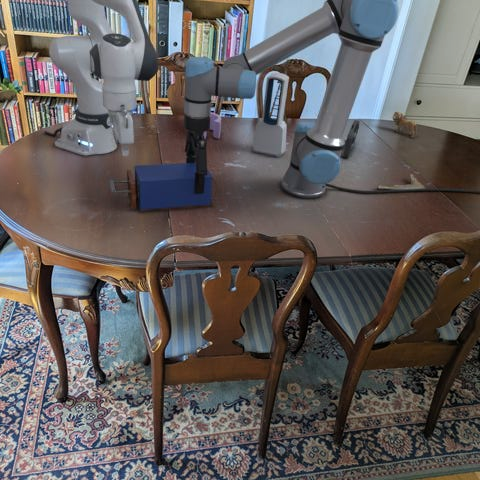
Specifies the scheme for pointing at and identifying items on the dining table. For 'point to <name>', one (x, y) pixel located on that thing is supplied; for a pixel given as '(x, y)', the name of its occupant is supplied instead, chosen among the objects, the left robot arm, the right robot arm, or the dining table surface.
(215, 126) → the clip
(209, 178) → the navy blue box
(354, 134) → the handheld gaming console
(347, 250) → the dining table surface
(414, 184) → the jawbone
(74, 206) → the dining table surface
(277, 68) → the miniature windmill
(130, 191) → the drawer
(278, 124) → the electronic device
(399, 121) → the lion figurine
